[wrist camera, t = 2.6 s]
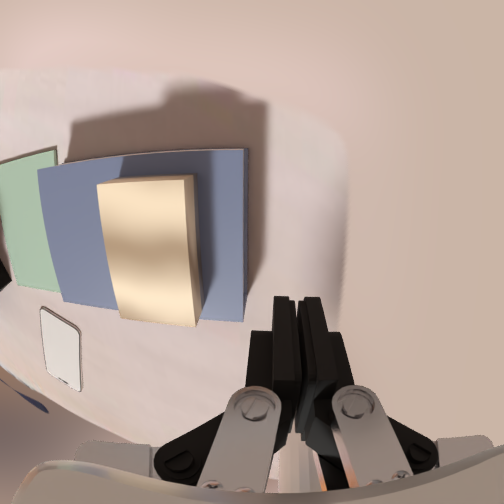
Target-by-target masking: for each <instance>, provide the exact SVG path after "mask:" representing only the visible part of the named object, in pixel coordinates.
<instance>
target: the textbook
mask: <svg viewBox="0 0 504 504" xmlns="http://www.w3.org/2000/svg"><path fill="white" fill-rule="evenodd" d="M185 173H197V179H198V208H199V229H200V247H201V263H202V277H203V290H204V302H205V305H204V307H203V310H202V312H201V315H200V318H199V319H204V320H217V321H232V322H243V319H244V313H245V307H246V301H247V242H248V148H211V149H185V150H168V151H154V152H142V153H132V154H123V155H114V156H106V157H99V158H92V159H85V160H79V161H72V162H67V163H62V164H60V165H56V166H52V167H47V168H42V169H38V170H37V175H38V185H39V193H40V200H41V207H42V214H43V220H44V225H45V230H46V235H47V240H48V245H49V249H50V254H51V258H52V262H53V266H54V270H55V274H56V277H57V281H58V284H59V288H60V291H61V294H62V297H63V301H64V302H69V303H75V304H81V305H87V306H93V307H100V308H107V309H113V310H119V309H118V305H117V301H116V297H115V293H114V289H113V284H112V280H111V275H110V270H109V266H108V260H107V255H106V250H105V244H104V238H103V232H102V225H101V218H100V210H99V202H98V193H97V184H100V183H103V182H106V181H109V180H112V179H115V178H118V177H127V176H141V175H159V174H185Z"/></svg>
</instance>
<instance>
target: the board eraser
mask: <svg viewBox="0 0 504 504" xmlns="http://www.w3.org/2000/svg"><path fill="white" fill-rule="evenodd" d="M97 193H98V202H99V210H100V218H101V225H102V232H103V238H104V244H105V250H106V255H107V260H108V266H109V270H110V275H111V280H112V284H113V289H114V293H115V297H116V301H117V305H118V309H119V313H120V317H121V318H122V319H129V320H137V321H144V322H152V323H160V324H169V325H179V326H189V327H196V325H197V323H198V320H199V318H200V315H201V312H202V310H203V307H204V305H205V302H204V290H203V277H202V263H201V247H200V229H199V208H198V179H197V173H185V174H159V175H141V176H127V177H118V178H115V179H112V180H109V181H106V182H103V183H100V184H97Z"/></svg>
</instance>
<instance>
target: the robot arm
mask: <svg viewBox="0 0 504 504" xmlns="http://www.w3.org/2000/svg"><path fill="white" fill-rule="evenodd" d="M278 450H279V480H278V481H279V482H278V493H265V490H266V486H267V482H268V477H269V473H270V469H271V464H272V460H273V455H274V453H276V452H277V451H278ZM11 504H504V445H500V446H497V447H493V444H492V441H491V440H490V439H489V438H488V437H486V436H484V435H475V436H466V437H456V438H439V439H437V440H436V441H431V440H430V439H429V438H427V437H425V436H423V435H421V434H420V433H418V432H416V431H414V430H412V429H410V428H408V427H407V426H405V425H403V424H401V423H399V422H397V421H396V420H394V419H392V418H390V417H388V416H387V415H386V413H385V411H384V409H383V407H382V405H381V403H380V401H379V399H378V397H377V396H376V394H375V393H374V392H372V391H371V390H370V389H368V388H366V387H363V386H358V385H354V380H353V376H352V373H351V368H350V365H349V361H348V357H347V353H346V350H345V347H344V342H343V339H342V335H341V333H340V332H328V328H327V324H326V320H325V315H324V311H323V307H322V303H321V299H320V297H305V298H304V301H299V302H298V311H297V317H296V308H295V301H294V300H289V296H274V303H273V320H272V331H254V330H252V331H251V338H250V348H249V357H248V366H247V375H246V384H245V387H244V388H242V389H240V390H238V391H236V392H235V393H234V394H233V395H232V396H231V398H230V400H229V402H228V404H227V407H226V410H225V412H223V413H221V414H220V415H218V416H216V417H215V418H213V419H211V420H209V421H208V422H206V423H204V424H202V425H201V426H199V427H197V428H195V429H193V430H192V431H190V432H188V433H186V434H184V435H182V436H180V437H178V438H176V439H174V440H172V441H170V442H169V443H167V444H165V445H163V446H162V447H151V446H150V444H127V443H114V442H104V441H96V440H93V441H87V442H84V443H82V444H81V445H80V446H79V447H78V448H77V451H76V453H75V458H74V461H71V460H55V461H48V462H43V463H41V464H39V465H37V466H36V467H34V468H33V469H32V470H31V471H30V472H29V473H28V474H27V476H26V477H25V479H24V480H23V482H22V483H21V485H20V486H19V488H18V490H17V492H16V494H15V495H14V498H13V500H12V502H11Z"/></svg>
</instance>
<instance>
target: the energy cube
mask: <svg viewBox="0 0 504 504" xmlns="http://www.w3.org/2000/svg"><path fill="white" fill-rule="evenodd" d="M11 281H12V280H11V278H10V276H9V274H8V273H7V271H6V269H5V267H4V265H3V263H2V261H1V259H0V291H1V290H3V289H4V288H5V287H6V286H7V285H8V284H9V283H10V282H11Z"/></svg>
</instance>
